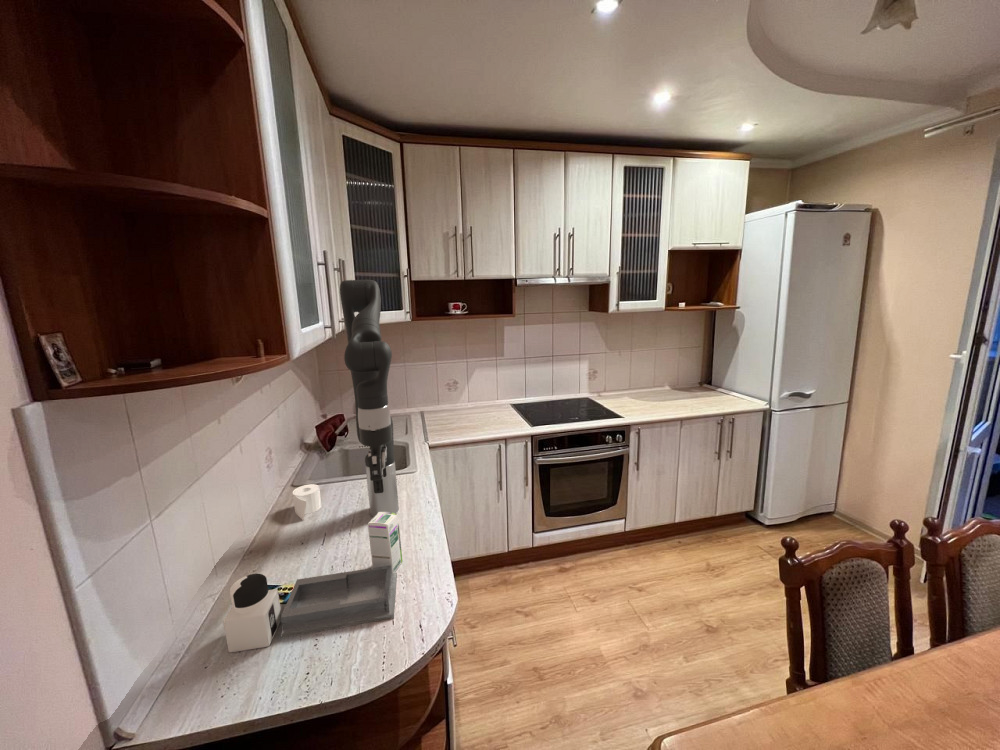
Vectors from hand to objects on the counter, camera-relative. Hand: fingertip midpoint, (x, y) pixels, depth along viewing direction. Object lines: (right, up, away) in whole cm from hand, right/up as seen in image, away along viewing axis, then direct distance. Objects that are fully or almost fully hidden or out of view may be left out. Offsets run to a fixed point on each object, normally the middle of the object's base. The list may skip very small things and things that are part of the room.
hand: (380, 484), depth 101 cm
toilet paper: (-36, -19, +34) cm, 53 cm away
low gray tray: (-6, -26, -8) cm, 28 cm away
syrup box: (0, -23, +5) cm, 24 cm away
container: (-22, -28, -16) cm, 39 cm away
